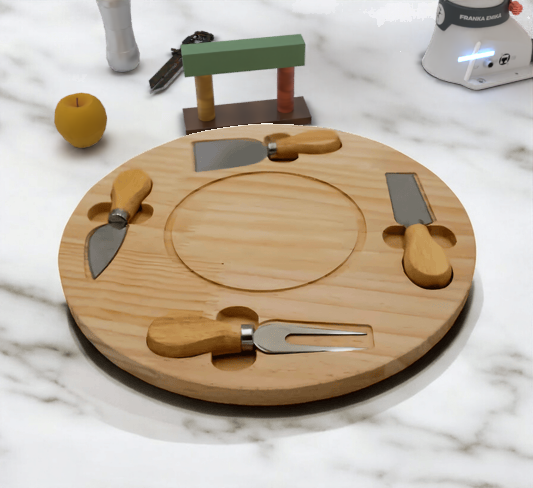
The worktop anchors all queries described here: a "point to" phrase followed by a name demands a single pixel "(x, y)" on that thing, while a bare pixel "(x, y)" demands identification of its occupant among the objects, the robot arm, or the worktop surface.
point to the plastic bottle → (119, 34)
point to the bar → (243, 55)
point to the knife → (176, 62)
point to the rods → (246, 107)
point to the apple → (80, 119)
